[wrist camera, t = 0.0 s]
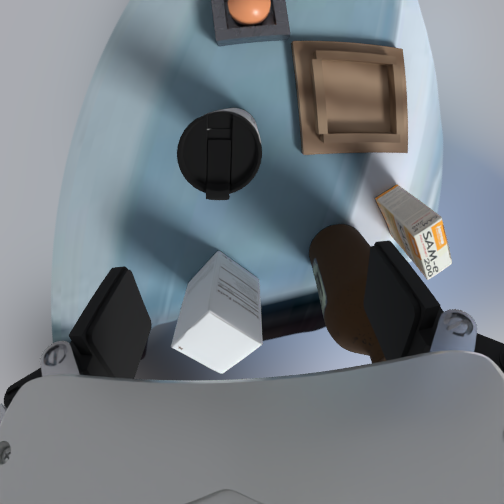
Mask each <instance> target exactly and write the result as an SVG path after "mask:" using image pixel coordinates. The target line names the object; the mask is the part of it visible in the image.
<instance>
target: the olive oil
mask: <svg viewBox="0 0 504 504" xmlns="http://www.w3.org/2000/svg"><path fill="white" fill-rule="evenodd" d="M370 248H371V246H370V245H369V244H368V243H367V241H366V240H365V239H364V238H363V236H362V235H361V234H360V233H359V232H358V231H357V230H356V229H355V228H353V227H351V226H349V225H345V224H336V225H332V226H329V227H327V228H325V229H323V230H322V231H320V232H319V233H318V234H317V235H316V236H315V238H314V239H313V241H312V243H311V245H310V250H309V257H310V261H311V265H312V268H313V273H314V276H315V280H316V284H317V289H318V293H319V297H320V302H321V307H322V312H323V317H324V321H325V324H326V327H327V330H328V332H329V333H330V335H331V336H332V338H333V339H334V340H335V341H336V342H337V343H338V344H339V345H340V346H341V347H342V348H344V349H346V350H348V351H351V352H354V353H359V354H364V355H369V356H370V358H371V361H372V363H378V362H383V361H386V359H385V356H384V354H383V351H382V349H381V347H380V344H379V342H378V339H377V337H376V335H375V332H374V330H373V328H372V326H371V323H370V321H369V319H368V317H367V314H366V312H365V310H364V295H365V288H366V281H367V273H368V264H369V255H370Z"/></svg>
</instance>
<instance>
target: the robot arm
mask: <svg viewBox="0 0 504 504" xmlns="http://www.w3.org/2000/svg"><path fill="white" fill-rule="evenodd" d="M364 310H365V312H366V314H367V317H368V319H369V321H370V323H371V326H372V328H373V330H374V332H375V335H376V337H377V339H378V342H379V344H380V347H381V349H382V351H383V354H384V356H385V359H386V361H383V362H378V363H372V364H367V365H361V366H355V367H349V368H343V369H337V370H330V371H323V372H316V373H308V374H300V375H290V376H281V377H269V378H255V379H239V380H238V379H237V380H207V381H174V380H143V379H134V377H135V374H136V371H137V368H138V365H139V362H140V359H141V356H142V353H143V350H144V347H145V344H146V341H147V339H148V336H149V333H150V330H151V320H150V317H149V315H148V312H147V310H146V308H145V305H144V303H143V300H142V298H141V295H140V292H139V290H138V287H137V285H136V282H135V279H134V276H133V274H132V272H131V270H128V269H127V268H126V267H115V268H112V269H111V270H110V271H109V273H108V274H107V276H106V277H105V279H104V280H103V282H102V283H101V285H100V286H99V288H98V289H97V291H96V292H95V294H94V295H93V297H92V298H91V300H90V301H89V303H88V305H87V306H86V308H85V309H84V311H83V313H82V314H81V316H80V317H79V319H78V321H77V322H76V324H75V326H74V327H73V329H72V331H71V332H70V334H69V337H70V339H71V340H72V341H71V343H70V344H69V343H68V342H66V341H58V342H55V343H53V344H51V345H50V346H48V347H47V348H46V349H45V350H44V352H43V354H42V355H41V358H40V365H41V368H40V369H38V370H36V371H35V372H33V373H31V374H30V375H28V376H26V377H25V378H23V379H21V380H19V381H18V382H16V383H14V384H13V385H11V386H10V387H9V388H8V389H7V391H6V394H5V397H4V406H3V405H2V404H0V504H504V344H503V343H500V342H498V341H495V340H493V339H490V338H488V337H485V336H483V335H480V334H478V333H477V325H476V322H475V320H474V319H473V318H472V317H471V316H470V315H469V314H467V313H466V312H463V311H461V310H456V309H454V310H453V309H452V310H447V311H445V312H444V311H443V310H442V309H441V307H440V304H439V303H438V301H437V300H436V299H435V297H434V296H433V294H432V293H431V292H430V290H429V289H428V288H427V286H426V285H425V284H424V282H423V281H422V280H421V279H420V277H419V276H418V275H417V273H416V272H415V271H414V270H413V268H412V267H411V266H410V264H409V263H408V262H407V261H406V259H405V258H404V257H403V256H402V255H401V253H400V252H399V251H398V250H397V248H396V247H395V246H394V245H393V244H392V242H391V241H381V242H376V243H375V244H374V246H371V248H370V255H369V264H368V273H367V281H366V288H365V295H364Z"/></svg>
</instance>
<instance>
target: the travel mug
mask: <svg viewBox="0 0 504 504" xmlns="http://www.w3.org/2000/svg"><path fill="white" fill-rule="evenodd" d="M261 158H262V147H261V140H260V136H259V132H258V129H257V125H256V122H255V120H254V118H253V117H252V116H251V114H249V113H248V112H247V111H245V110H243V109H240V108H228V109H223V110H218V111H213V112H210V113H207V114H205V115H203V116H201V117H200V118H197V119H195V120H194V121H193V122H192V123H190V124H189V125H188V127H187V128H186V129H185V130H184V132H183V134H182V136H181V137H180V140H179V144H178V149H177V159H178V164H179V168H180V170H181V172H182V174H183V176H184V177H185V179H186V180H187V181H188V182H189V183H190V184H191V185H192V186H193V187H195V188H196V189H198V190H200V191H202V192H204V193H206V199H210V200H229V197H230V195H229V194H231V193H233V192H236V191H238V190H240V189H242V188H243V187H245V186H246V185H247V184H248V183H249V182H250V181H251V180H252V179H253V178H254V176H255V175H256V173H257V171H258V169H259V166H260V164H261Z"/></svg>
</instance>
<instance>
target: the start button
mask: <svg viewBox="0 0 504 504" xmlns="http://www.w3.org/2000/svg"><path fill="white" fill-rule="evenodd" d="M270 5H271V2H270V0H228V8H229V12H230V15H231V17H232V18H233V20H235V21H236V22H237V23H239V24H242V25H256V24H259V23H261V22H263V21H264V20H265V19H266V18H267V16H268V14H269V10H270Z"/></svg>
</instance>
